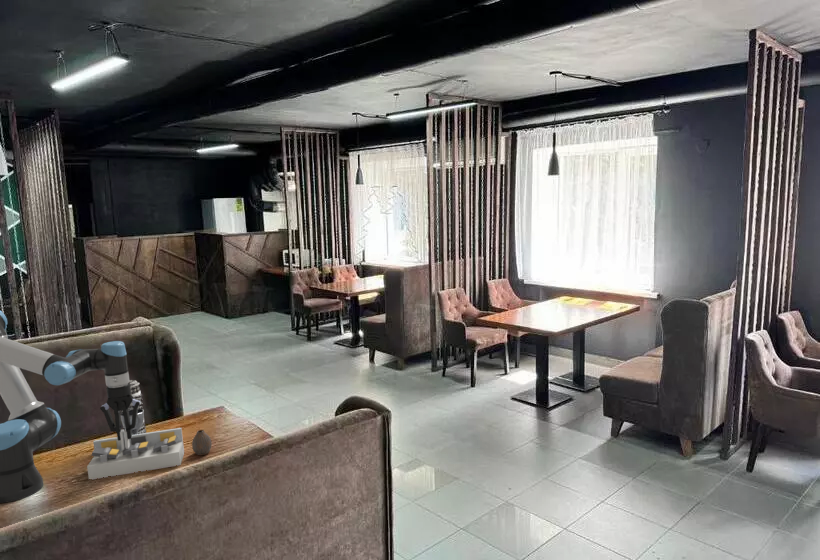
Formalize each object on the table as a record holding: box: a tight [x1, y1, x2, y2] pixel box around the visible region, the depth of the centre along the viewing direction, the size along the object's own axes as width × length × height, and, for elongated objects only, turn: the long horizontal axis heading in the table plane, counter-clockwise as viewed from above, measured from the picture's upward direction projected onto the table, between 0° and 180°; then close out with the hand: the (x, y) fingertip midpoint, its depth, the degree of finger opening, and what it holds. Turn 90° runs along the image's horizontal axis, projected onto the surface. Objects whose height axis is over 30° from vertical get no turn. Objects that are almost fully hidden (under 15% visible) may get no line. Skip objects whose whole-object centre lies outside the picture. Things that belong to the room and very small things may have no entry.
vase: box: [191, 429, 213, 456], centre depth 212 cm, size 7×7×9 cm
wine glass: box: [120, 408, 145, 435], centre depth 219 cm, size 8×8×15 cm
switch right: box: [153, 435, 178, 452], centre depth 206 cm, size 8×5×2 cm, turn 105°
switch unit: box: [86, 427, 185, 480], centre depth 204 cm, size 30×11×10 cm, turn 105°
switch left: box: [91, 447, 120, 459], centre depth 201 cm, size 8×5×2 cm, turn 105°
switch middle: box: [122, 442, 149, 455], centre depth 203 cm, size 8×5×2 cm, turn 105°
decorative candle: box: [120, 379, 147, 434], centre depth 227 cm, size 9×9×25 cm
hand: (126, 447), depth 202 cm, fingers closed
